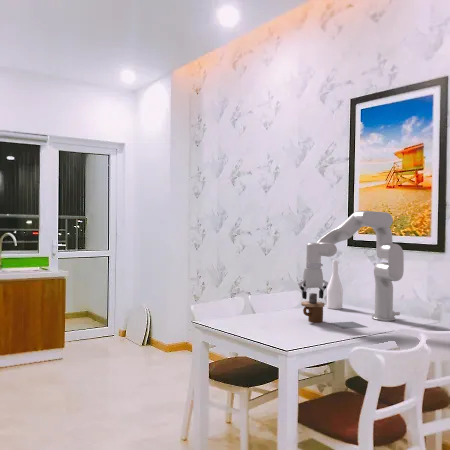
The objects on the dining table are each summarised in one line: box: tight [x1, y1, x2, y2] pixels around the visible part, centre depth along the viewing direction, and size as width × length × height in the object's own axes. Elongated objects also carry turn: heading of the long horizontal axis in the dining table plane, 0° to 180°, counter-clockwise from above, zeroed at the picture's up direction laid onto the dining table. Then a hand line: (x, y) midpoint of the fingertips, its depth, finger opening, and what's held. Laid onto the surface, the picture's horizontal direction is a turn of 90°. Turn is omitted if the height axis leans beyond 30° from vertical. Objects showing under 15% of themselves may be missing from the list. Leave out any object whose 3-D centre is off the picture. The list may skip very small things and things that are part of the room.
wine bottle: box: [326, 259, 344, 310], centre depth 311 cm, size 10×10×30 cm
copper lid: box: [300, 292, 325, 308], centre depth 263 cm, size 12×12×6 cm
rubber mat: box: [328, 321, 368, 330], centre depth 256 cm, size 15×14×1 cm
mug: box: [302, 306, 324, 324], centre depth 263 cm, size 12×8×9 cm, turn 119°
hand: (312, 298), depth 263 cm, fingers open, 9 cm apart
